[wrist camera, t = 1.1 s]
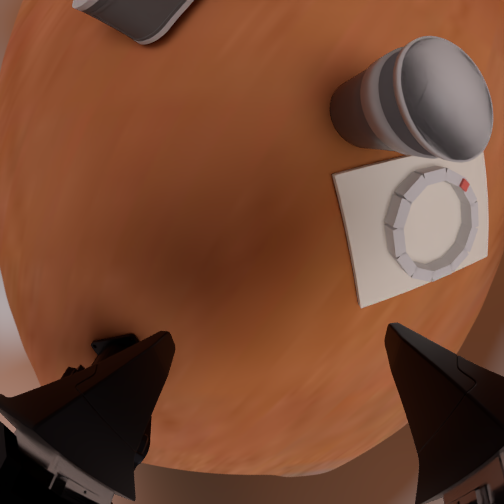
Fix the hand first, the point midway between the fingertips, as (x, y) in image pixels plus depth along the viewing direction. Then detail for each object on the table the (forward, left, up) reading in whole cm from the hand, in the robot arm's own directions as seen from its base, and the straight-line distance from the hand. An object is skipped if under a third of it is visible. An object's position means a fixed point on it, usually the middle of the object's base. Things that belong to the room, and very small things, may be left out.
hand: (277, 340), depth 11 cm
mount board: (+14, -3, -12) cm, 19 cm away
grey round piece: (+10, +7, -12) cm, 18 cm away
